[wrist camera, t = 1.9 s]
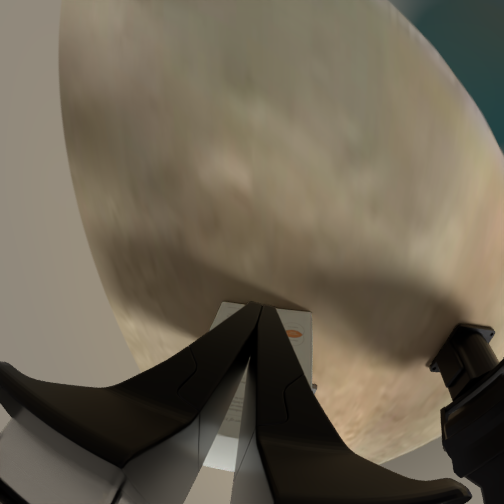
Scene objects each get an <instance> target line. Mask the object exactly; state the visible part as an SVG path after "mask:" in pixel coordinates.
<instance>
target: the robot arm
mask: <svg viewBox="0 0 504 504" xmlns="http://www.w3.org/2000/svg"><path fill="white" fill-rule="evenodd" d="M494 334H495V331H494V329H491V328H484V327H478V326H471V325H465V324H458V325H457V326H456V327H455V329H454V330H453V332H452V334H451V335H450V337H449V338H448V340H447V342H446V343H445V345H444V346H443V348H442V349H441V351H440V352H439V354H438V355H437V357H436V358H435V360H434V361H433V362H432V364H431V365H430V367H429V369H430V371H431V372H440V373H441V375H442V378H443V381H444V383H445V386H446V387H447V388H448V389H449V392H450V395H451V398H452V401H453V402H452V403H450V404H449V405H447V406H446V407H443V408H442V409H441V410H440V412H441V430H442V445H443V449H444V451H446V452H447V454H448V456H449V457H450V458H451V459H452V463H453V470H454V473H456V475H457V476H459V477H460V478H463V477H465V478H467V479H468V480H470V481H471V482H472V483H474V484H475V485H477V486H478V487H480V488H481V492H482V497H483V502H484V504H504V359H503V360H502V361H501V362H499V361H498V359H497V357H496V355H495V354H494V352H493V350H492V348H491V347H490V345H489V342H490V341H491V339H492V338H493V336H494ZM249 358H250V359H249ZM248 362H249V363H248ZM247 365H248V368H247ZM246 368H247V375H246V384H245V392H244V400H243V408H242V416H241V425H240V433H239V441H238V448H237V456H236V464H235V472H234V480H233V488H232V495H231V502H230V504H465V503H466V502H468V501H469V500H470V499H471V498H472V494H471V492H470V491H469V489H468V488H467V487H466V486H464V485H463V484H461V483H459V482H457V481H455V480H453V479H451V478H443V479H437V480H431V481H421V480H415V479H410V478H407V477H405V476H402V475H400V474H397V473H395V472H392V471H390V470H388V469H386V468H384V467H382V466H379V465H377V464H375V463H373V462H371V461H369V460H367V459H365V458H363V457H361V456H359V455H357V454H355V453H354V452H353V451H352V450H350V449H349V448H348V447H347V445H346V444H345V443H344V442H343V440H342V439H341V437H340V436H339V434H338V433H337V431H336V429H335V428H334V426H333V425H332V423H331V422H330V420H329V418H328V417H327V415H326V414H325V412H324V410H323V409H322V407H321V405H320V404H319V402H318V400H317V399H316V397H315V395H314V393H313V391H312V389H311V387H310V385H309V383H308V380H307V378H306V376H305V375H304V371H303V369H302V367H301V364H300V362H299V360H298V358H297V355H296V353H295V351H294V348H293V346H292V344H291V342H290V339H289V337H288V335H287V333H286V330H285V328H284V326H283V323H282V321H281V319H280V317H279V314H278V312H277V310H276V308H275V307H274V306H269V305H263V306H262V304H261V303H256V302H252V301H251V302H249V303H247V304H246V305H245V306H243V307H242V308H241V309H239V310H238V311H236V312H235V313H234V314H232V315H231V316H230V317H228V318H227V319H225V320H224V321H223V322H221V323H220V324H219V325H217V326H216V327H214V328H213V329H212V330H210V331H209V332H207V333H206V334H204V335H203V336H202V337H200V338H199V339H197V340H196V341H195V342H193V343H192V344H190V345H189V347H186V348H184V349H183V350H181V351H180V352H178V353H177V354H175V355H174V356H172V357H171V358H169V359H167V360H166V361H164V362H162V363H160V364H158V365H156V366H154V367H152V368H150V369H148V370H146V371H144V372H142V373H140V374H138V375H136V376H134V377H132V378H130V379H128V380H126V381H124V382H121V383H119V384H116V385H113V386H110V387H104V388H94V387H84V386H75V385H66V384H59V383H51V382H45V381H40V380H36V379H33V378H30V377H28V376H26V375H24V374H22V373H21V372H19V371H18V370H17V369H16V368H14V367H13V366H12V365H10V364H9V363H6V362H0V403H1V404H2V406H3V407H4V409H5V410H6V411H7V412H8V414H9V415H10V416H11V417H12V419H11V420H10V421H9V422H8V424H7V425H6V426H5V427H4V429H3V430H2V431H1V433H0V504H183V503H184V501H185V499H186V497H187V495H188V493H189V491H190V489H191V487H192V485H193V483H194V481H195V479H196V477H197V475H198V473H199V471H200V469H201V467H202V465H203V463H204V461H205V458H206V456H207V454H208V452H209V450H210V448H211V446H212V444H213V442H214V440H215V437H216V435H217V433H218V431H219V429H220V427H221V424H222V422H223V420H224V418H225V416H226V413H227V411H228V409H229V407H230V405H231V402H232V400H233V398H234V396H235V393H236V391H237V389H238V387H239V384H240V382H241V380H242V377H243V375H244V373H245V370H246Z"/></svg>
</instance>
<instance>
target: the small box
mask: <svg viewBox="0 0 504 504" xmlns="http://www.w3.org/2000/svg"><path fill="white" fill-rule="evenodd" d="M243 306H245V305H244V304H237V303H229V302H222V304H221V306H220V308H219V310H218V312H217V315H216V317H215V319H214V321H213V323H212V325H211V328H210V330H212V329H213V328H214V327H216V326H217V325H219V324H220V323H221V322H223V321H224V320H225V319H227V318H228V317H230V316H231V315H232V314H234V313H235V312H236V311H238V310H239V309H241V308H242V307H243ZM276 310H277V312H278V314H279V317H280V319H281V321H282V323H283V326H284V328H285V330H286V333H287V335H288V337H289V339H290V342H291V344H292V346H293V348H294V351H295V353H296V355H297V358H298V360H299V362H300V364H301V367H302V369H303V371H304V375H305V376H306V378H307V380H308V383H309V385H310V387H311V389H312V352H313V345H312V314H311V312H305V311H295V310H286V309H277V308H276ZM210 330H209V331H210ZM249 359H250V358H249ZM248 363H249V362H248ZM247 368H248V365H247ZM247 368H246V370H245V373H244V375H243V377H242V380H241V382H240V384H239V387H238V389H237V391H236V393H235V396H234V398H233V400H232V402H231V405H230V407H229V409H228V411H227V413H226V416H225V418H224V420H223V422H222V424H221V427H220V429H219V431H218V433H217V435H216V437H215V440H214V442H213V444H212V446H211V448H210V450H209V452H208V454H207V456H206V458H205V461H204V463H203V466H207V467H212V468H217V469H222V470H227V471H232V472H235V464H236V456H237V448H238V441H239V433H240V425H241V416H242V408H243V400H244V392H245V384H246V375H247Z"/></svg>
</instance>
